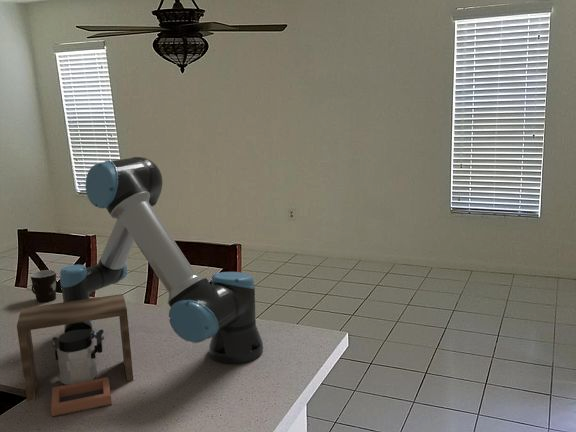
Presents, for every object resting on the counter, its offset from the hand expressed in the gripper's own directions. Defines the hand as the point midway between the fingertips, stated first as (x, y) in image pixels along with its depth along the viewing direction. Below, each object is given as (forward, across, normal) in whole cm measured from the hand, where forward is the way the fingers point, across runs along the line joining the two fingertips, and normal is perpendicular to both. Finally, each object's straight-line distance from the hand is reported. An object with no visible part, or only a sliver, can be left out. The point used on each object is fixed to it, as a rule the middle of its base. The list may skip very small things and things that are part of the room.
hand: (79, 364), depth 136 cm
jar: (-5, 0, -7) cm, 9 cm away
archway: (-5, 0, -7) cm, 9 cm away
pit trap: (+6, 0, -7) cm, 9 cm away
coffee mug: (-73, +12, -7) cm, 74 cm away
